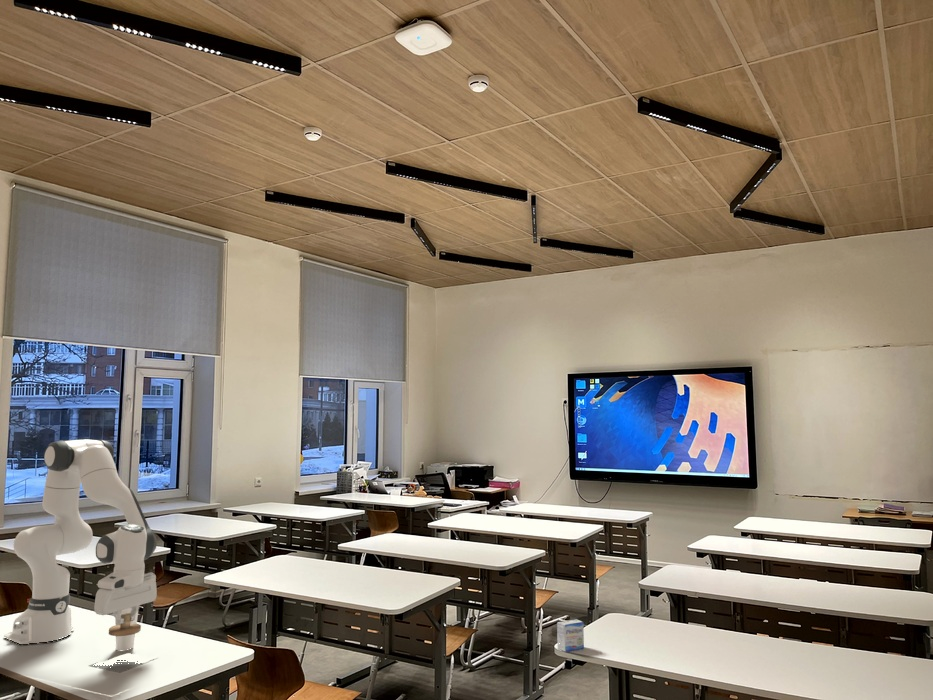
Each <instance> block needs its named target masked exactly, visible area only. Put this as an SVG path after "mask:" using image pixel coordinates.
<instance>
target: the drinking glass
mask: <svg viewBox="0 0 933 700" xmlns="http://www.w3.org/2000/svg"><path fill="white" fill-rule="evenodd" d="M131 610H132V609H131V608H127V609H124V610H122V613H121V614H124V613H131ZM121 614H120V616H121ZM138 615H139V610H138V611H137V613H136V615H135V620H134V621H130V623H135V624H138V623H137V622H138V617H139V616H138ZM114 618H115V617H114ZM114 621H115V623H114V624H115V625H116V618H115V619H114ZM115 625H114V626H115ZM135 637H136V633H135V634H132V635H127V636H115V651H116V650H127V649H130V648H133V649H134V646H135Z"/></svg>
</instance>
